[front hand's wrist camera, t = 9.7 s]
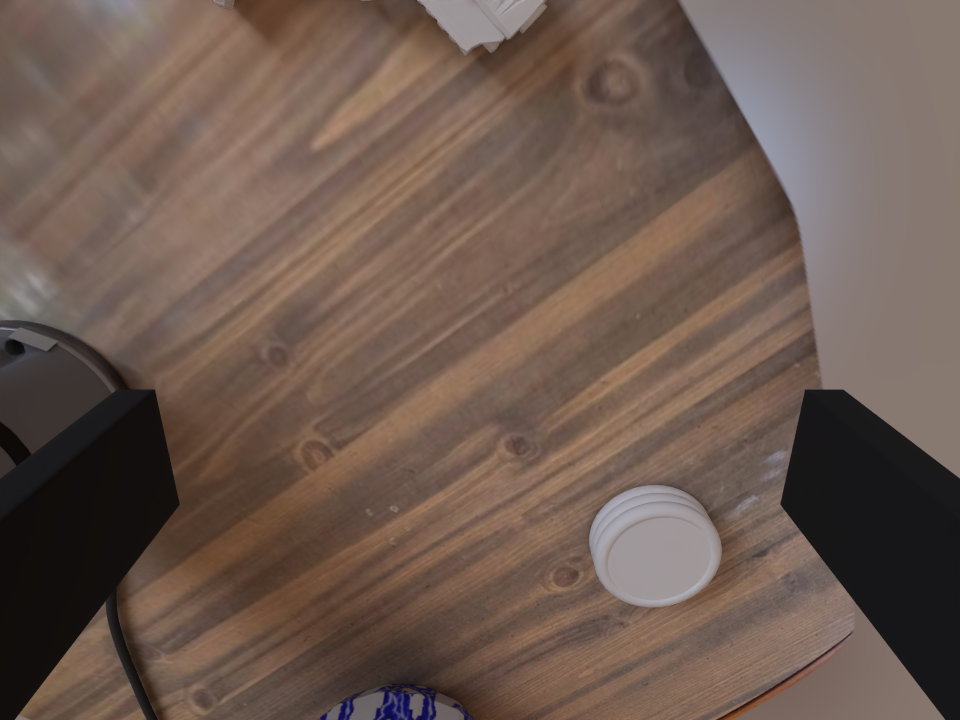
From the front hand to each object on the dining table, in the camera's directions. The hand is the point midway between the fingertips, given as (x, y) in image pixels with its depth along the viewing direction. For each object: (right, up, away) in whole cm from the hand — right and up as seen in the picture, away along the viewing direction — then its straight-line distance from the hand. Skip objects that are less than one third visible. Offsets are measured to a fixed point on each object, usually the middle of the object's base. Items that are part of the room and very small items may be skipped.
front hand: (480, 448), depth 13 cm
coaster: (+14, -13, +39) cm, 43 cm away
